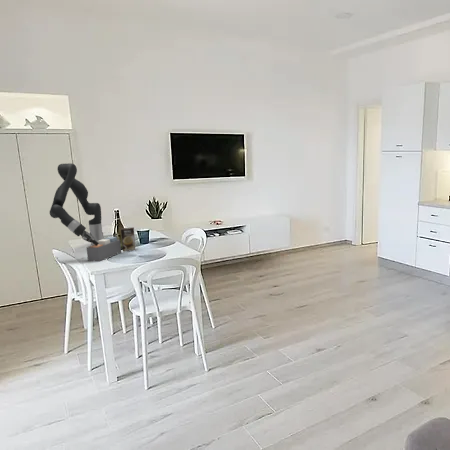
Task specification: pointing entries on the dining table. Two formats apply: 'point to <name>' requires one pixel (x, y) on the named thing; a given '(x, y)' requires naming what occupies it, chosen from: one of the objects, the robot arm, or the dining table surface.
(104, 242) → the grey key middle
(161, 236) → the dining table surface
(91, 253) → the block
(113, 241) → the slate key
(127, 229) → the coffee box
